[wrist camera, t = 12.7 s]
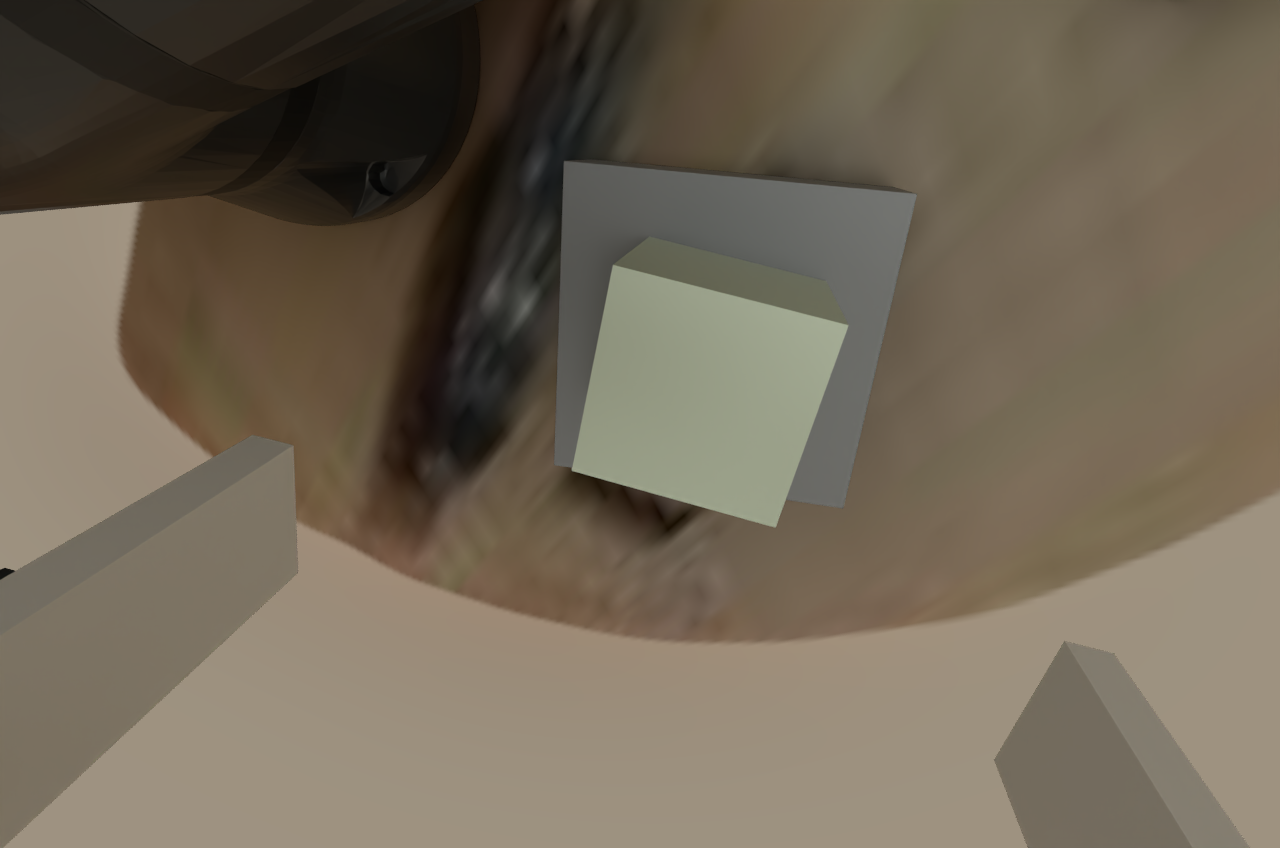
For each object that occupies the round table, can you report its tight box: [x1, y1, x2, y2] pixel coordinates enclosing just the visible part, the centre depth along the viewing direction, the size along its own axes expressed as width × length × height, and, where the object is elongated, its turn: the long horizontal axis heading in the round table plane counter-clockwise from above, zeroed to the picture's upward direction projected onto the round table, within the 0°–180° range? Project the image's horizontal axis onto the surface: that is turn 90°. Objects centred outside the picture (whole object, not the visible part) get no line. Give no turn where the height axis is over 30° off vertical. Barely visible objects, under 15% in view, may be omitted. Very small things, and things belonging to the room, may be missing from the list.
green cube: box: [572, 237, 849, 528], centre depth 24 cm, size 7×7×7 cm
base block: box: [554, 159, 917, 508], centre depth 29 cm, size 13×13×5 cm
